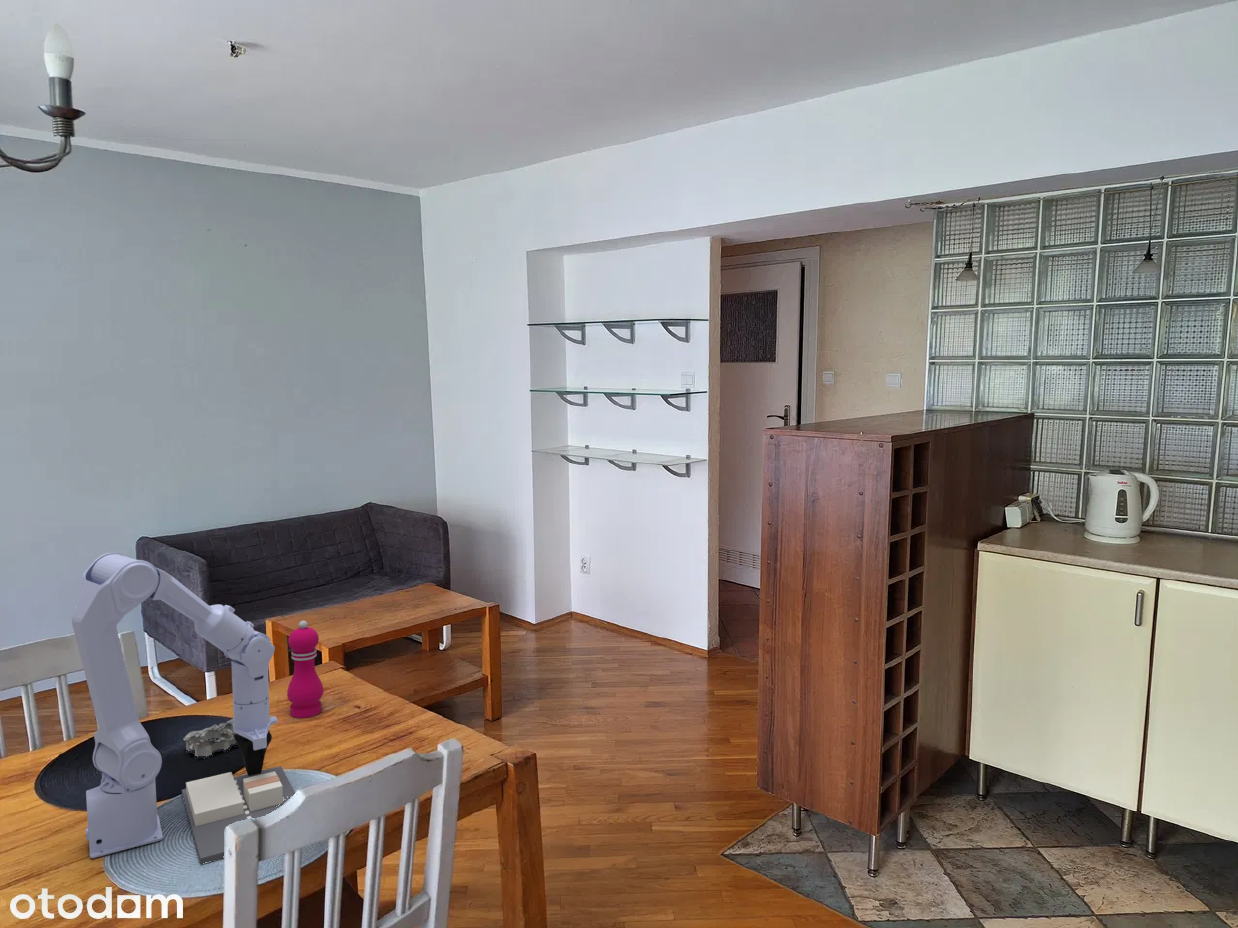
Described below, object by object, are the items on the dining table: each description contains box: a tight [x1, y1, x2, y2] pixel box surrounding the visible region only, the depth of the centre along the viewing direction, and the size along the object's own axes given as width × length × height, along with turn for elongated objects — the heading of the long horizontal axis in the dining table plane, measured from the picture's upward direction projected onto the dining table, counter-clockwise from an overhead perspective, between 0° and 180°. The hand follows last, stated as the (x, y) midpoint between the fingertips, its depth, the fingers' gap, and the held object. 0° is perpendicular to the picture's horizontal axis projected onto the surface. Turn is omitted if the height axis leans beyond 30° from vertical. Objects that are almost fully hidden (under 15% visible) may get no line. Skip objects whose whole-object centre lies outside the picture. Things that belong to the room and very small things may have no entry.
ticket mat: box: [181, 765, 296, 865], centre depth 136 cm, size 16×24×3 cm, turn 33°
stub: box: [243, 771, 283, 812], centre depth 138 cm, size 5×6×3 cm
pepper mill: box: [286, 620, 324, 719], centre depth 175 cm, size 7×7×20 cm
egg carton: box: [183, 717, 236, 757], centre depth 160 cm, size 11×8×4 cm
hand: (254, 773), depth 145 cm, fingers closed
